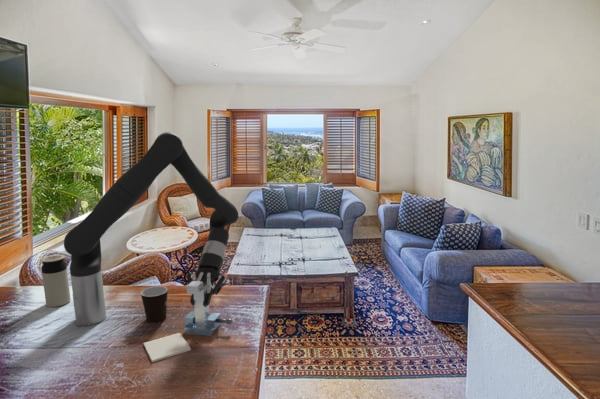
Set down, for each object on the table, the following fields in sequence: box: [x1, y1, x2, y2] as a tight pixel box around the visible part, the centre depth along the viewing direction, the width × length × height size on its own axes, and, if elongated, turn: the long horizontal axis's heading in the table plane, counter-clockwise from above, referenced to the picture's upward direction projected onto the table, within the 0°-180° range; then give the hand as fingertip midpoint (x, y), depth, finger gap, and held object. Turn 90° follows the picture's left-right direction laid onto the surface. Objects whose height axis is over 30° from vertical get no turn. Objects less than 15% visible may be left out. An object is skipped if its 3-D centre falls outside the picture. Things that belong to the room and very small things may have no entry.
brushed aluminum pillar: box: [186, 280, 211, 326], centre depth 126 cm, size 8×4×15 cm, turn 168°
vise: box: [183, 310, 233, 337], centre depth 129 cm, size 8×15×4 cm, turn 78°
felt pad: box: [143, 332, 192, 363], centre depth 118 cm, size 11×11×1 cm
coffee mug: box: [140, 285, 169, 324], centre depth 137 cm, size 12×9×10 cm
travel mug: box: [40, 254, 72, 308], centre depth 148 cm, size 8×8×18 cm
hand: (198, 305), depth 126 cm, fingers closed on brushed aluminum pillar, 3 cm apart
